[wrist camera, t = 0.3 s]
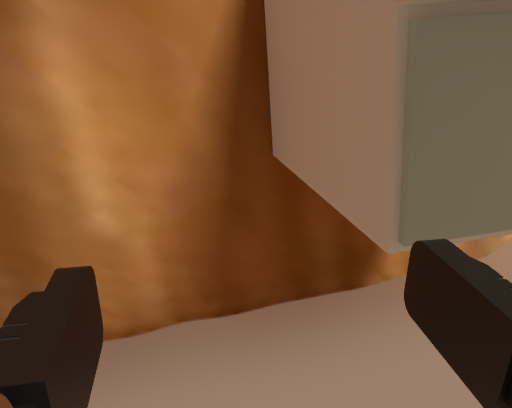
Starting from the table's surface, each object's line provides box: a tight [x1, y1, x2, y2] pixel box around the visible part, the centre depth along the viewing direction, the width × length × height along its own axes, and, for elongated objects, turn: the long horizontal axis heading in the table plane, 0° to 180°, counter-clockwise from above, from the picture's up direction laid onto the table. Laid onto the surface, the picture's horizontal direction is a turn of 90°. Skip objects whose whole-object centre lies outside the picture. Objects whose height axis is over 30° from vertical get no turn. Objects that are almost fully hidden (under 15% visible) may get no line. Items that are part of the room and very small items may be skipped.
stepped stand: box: [264, 0, 512, 254], centre depth 22 cm, size 20×14×32 cm
